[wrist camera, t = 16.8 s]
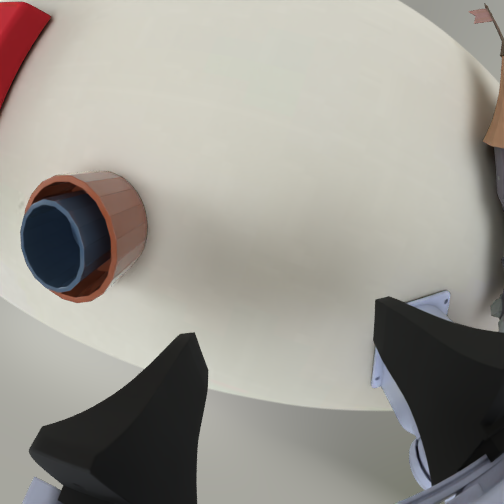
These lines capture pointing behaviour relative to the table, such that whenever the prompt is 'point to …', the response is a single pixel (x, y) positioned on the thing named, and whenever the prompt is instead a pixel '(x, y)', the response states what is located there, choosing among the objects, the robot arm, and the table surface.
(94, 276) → the terracotta tumbler
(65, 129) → the table surface
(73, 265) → the blue cup
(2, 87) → the red flat box
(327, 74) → the table surface
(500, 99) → the model tower
